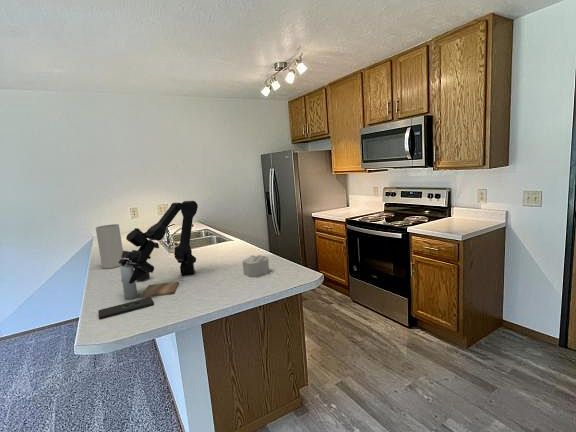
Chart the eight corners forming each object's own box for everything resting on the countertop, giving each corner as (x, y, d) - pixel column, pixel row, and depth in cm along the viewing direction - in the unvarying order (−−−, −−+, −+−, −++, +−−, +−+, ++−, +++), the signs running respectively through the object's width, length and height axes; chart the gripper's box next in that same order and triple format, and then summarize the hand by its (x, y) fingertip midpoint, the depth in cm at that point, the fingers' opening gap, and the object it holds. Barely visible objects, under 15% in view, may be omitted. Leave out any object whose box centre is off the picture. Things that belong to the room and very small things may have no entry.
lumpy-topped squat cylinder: (241, 273, 167) (240, 257, 166) (262, 267, 175) (261, 252, 173) (251, 278, 159) (250, 261, 157) (273, 271, 166) (272, 255, 165)
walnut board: (178, 283, 159) (178, 281, 159) (174, 293, 146) (173, 291, 145) (148, 287, 157) (148, 285, 157) (141, 298, 143) (140, 295, 143)
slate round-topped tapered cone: (139, 293, 148) (134, 264, 146) (135, 298, 143) (131, 267, 141) (126, 295, 147) (122, 265, 145) (123, 299, 142) (118, 269, 140)
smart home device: (154, 302, 134) (98, 316, 124) (154, 306, 134) (99, 321, 124) (150, 296, 141) (98, 309, 131) (151, 300, 141) (98, 313, 131)
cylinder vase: (123, 266, 197) (117, 226, 193) (100, 270, 192) (93, 229, 188) (125, 261, 208) (120, 223, 204) (103, 265, 204) (97, 226, 200)
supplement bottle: (153, 277, 172) (150, 255, 170) (144, 281, 165) (140, 259, 163) (142, 276, 174) (139, 255, 172) (133, 281, 167) (129, 259, 165)
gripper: (119, 241, 150) (99, 272, 142) (144, 244, 140) (124, 276, 133) (137, 253, 158) (119, 283, 150) (162, 256, 148) (144, 288, 140)
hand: (126, 282), depth 143 cm, fingers closed on slate round-topped tapered cone, 5 cm apart
